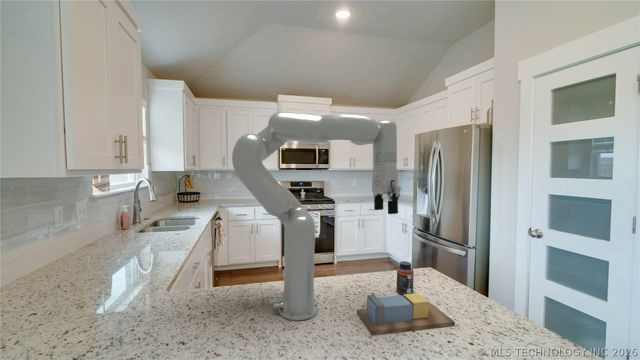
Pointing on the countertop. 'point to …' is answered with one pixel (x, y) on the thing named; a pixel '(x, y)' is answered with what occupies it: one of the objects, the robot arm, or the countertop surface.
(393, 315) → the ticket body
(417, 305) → the yellow block
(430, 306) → the board
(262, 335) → the countertop surface
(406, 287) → the supplement bottle
